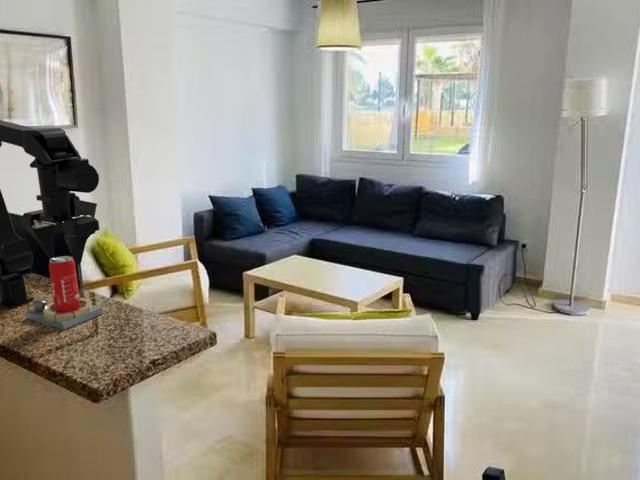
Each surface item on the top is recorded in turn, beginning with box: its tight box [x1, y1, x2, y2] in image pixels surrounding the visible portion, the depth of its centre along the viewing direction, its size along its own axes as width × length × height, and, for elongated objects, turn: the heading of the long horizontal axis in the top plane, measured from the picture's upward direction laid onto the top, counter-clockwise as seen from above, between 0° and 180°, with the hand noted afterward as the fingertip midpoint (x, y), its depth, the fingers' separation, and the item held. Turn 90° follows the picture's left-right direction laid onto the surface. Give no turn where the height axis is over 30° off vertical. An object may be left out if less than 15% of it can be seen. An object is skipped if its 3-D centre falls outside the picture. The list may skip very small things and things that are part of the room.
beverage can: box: [48, 255, 80, 313], centre depth 125 cm, size 5×5×12 cm
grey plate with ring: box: [25, 297, 104, 331], centre depth 127 cm, size 13×10×4 cm
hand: (64, 260), depth 124 cm, fingers open, 9 cm apart
